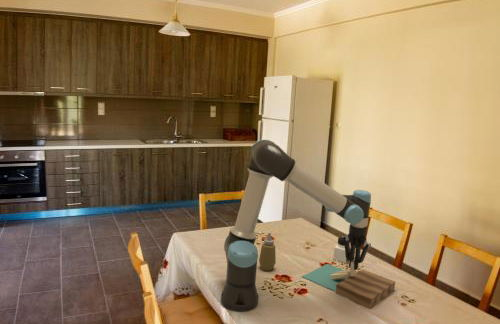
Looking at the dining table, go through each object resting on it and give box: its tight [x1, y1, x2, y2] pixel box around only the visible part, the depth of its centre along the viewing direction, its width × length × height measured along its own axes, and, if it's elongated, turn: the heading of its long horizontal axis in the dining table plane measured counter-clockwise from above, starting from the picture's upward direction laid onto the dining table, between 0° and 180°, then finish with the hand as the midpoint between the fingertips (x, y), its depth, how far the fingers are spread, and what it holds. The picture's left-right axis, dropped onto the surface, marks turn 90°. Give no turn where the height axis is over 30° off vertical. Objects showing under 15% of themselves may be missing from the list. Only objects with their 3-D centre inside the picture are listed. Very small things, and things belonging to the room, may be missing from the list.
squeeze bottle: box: [258, 232, 277, 272], centre depth 186 cm, size 8×8×18 cm
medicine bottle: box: [332, 236, 351, 264], centre depth 203 cm, size 7×7×12 cm
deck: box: [335, 268, 396, 309], centre depth 170 cm, size 24×16×4 cm, turn 137°
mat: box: [301, 263, 347, 293], centre depth 182 cm, size 22×18×1 cm
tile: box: [330, 270, 351, 280], centre depth 178 cm, size 6×9×2 cm, turn 47°
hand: (352, 275), depth 175 cm, fingers closed
